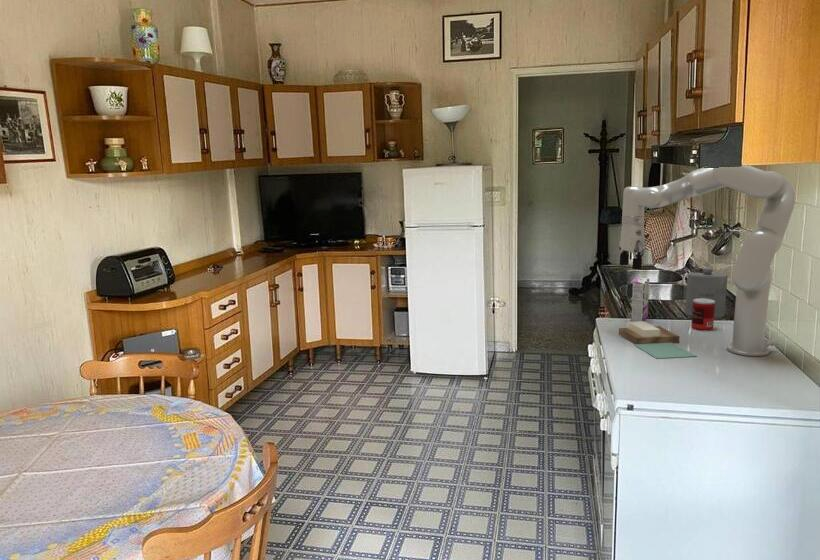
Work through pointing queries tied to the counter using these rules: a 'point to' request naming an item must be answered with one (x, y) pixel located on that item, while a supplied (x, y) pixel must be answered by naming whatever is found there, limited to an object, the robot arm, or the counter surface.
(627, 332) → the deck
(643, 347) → the mat
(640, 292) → the candy bar box
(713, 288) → the grey upright rectangular block
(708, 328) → the canned food
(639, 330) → the tile
